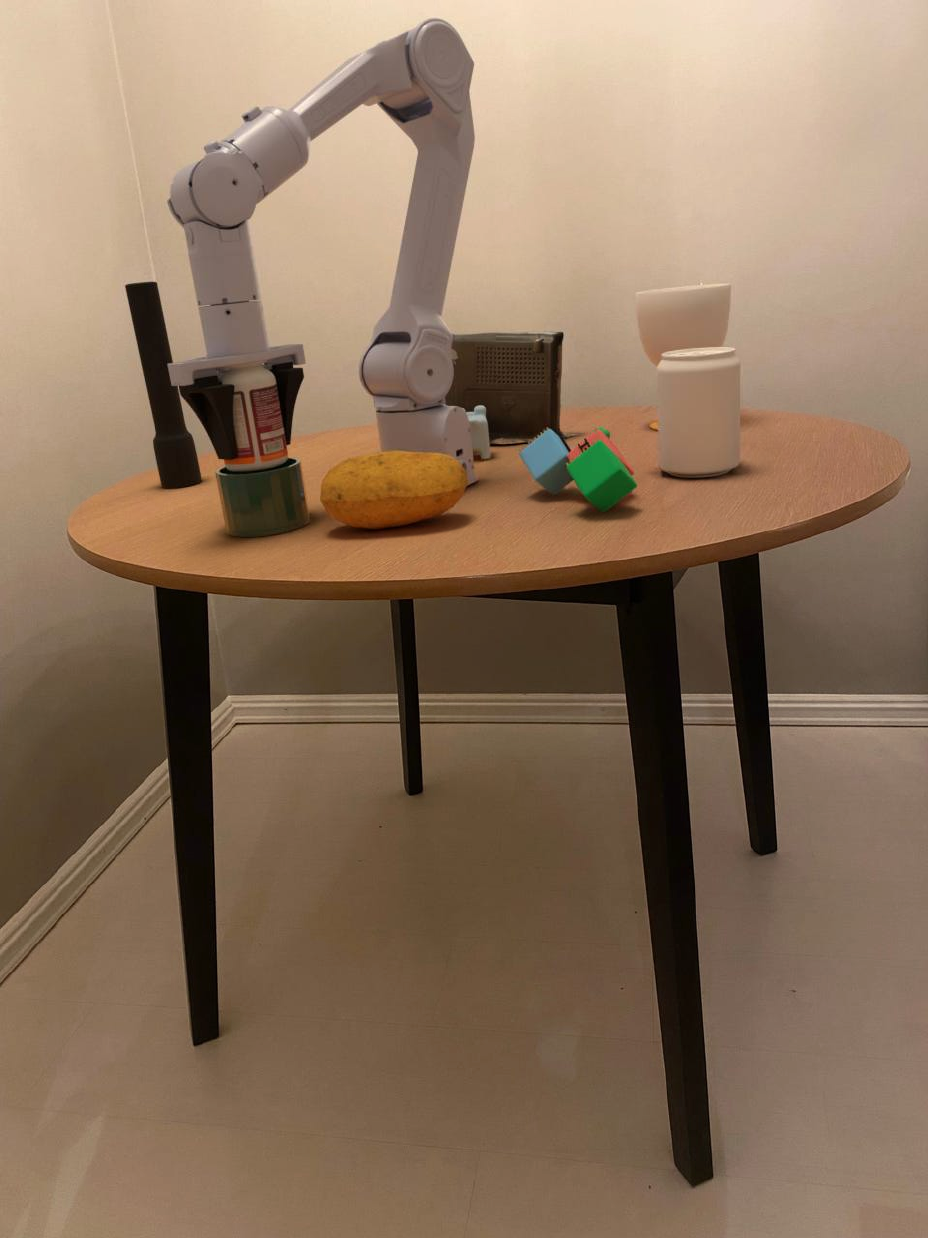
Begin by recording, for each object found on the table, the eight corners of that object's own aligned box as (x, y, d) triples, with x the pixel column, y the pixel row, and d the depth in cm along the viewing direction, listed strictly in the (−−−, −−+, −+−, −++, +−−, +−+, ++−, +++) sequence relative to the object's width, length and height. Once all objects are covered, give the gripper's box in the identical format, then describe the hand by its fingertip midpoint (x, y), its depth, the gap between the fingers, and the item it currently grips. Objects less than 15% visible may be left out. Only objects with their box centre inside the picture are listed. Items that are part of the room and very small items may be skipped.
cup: (639, 435, 119) (635, 294, 113) (638, 420, 130) (635, 290, 124) (735, 429, 117) (735, 284, 111) (726, 414, 128) (726, 282, 122)
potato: (332, 521, 92) (321, 452, 90) (471, 508, 91) (464, 439, 89) (319, 543, 85) (308, 468, 82) (471, 529, 84) (464, 454, 82)
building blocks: (588, 553, 90) (535, 467, 96) (657, 500, 87) (599, 415, 93) (549, 524, 84) (496, 434, 90) (623, 466, 81) (563, 378, 87)
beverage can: (742, 477, 93) (743, 352, 89) (658, 481, 95) (655, 358, 90) (736, 460, 100) (737, 344, 96) (659, 464, 102) (656, 350, 98)
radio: (579, 434, 124) (573, 317, 119) (552, 447, 117) (544, 323, 112) (431, 434, 136) (419, 327, 131) (398, 446, 129) (384, 334, 124)
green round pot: (326, 516, 94) (317, 457, 92) (274, 538, 88) (264, 475, 86) (262, 513, 98) (252, 456, 96) (209, 535, 92) (197, 474, 90)
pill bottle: (287, 456, 94) (269, 339, 90) (290, 467, 89) (270, 342, 85) (225, 464, 93) (203, 347, 89) (224, 475, 88) (201, 350, 84)
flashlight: (197, 485, 116) (205, 477, 121) (156, 280, 108) (167, 280, 113) (157, 490, 116) (167, 481, 121) (113, 284, 108) (125, 284, 113)
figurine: (487, 449, 121) (483, 401, 119) (492, 460, 113) (488, 409, 111) (456, 452, 121) (451, 404, 119) (460, 463, 113) (455, 412, 111)
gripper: (262, 299, 93) (284, 436, 98) (136, 313, 83) (167, 465, 88) (310, 294, 89) (331, 437, 94) (184, 308, 79) (215, 468, 83)
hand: (255, 451), depth 90 cm, fingers closed on pill bottle, 6 cm apart
